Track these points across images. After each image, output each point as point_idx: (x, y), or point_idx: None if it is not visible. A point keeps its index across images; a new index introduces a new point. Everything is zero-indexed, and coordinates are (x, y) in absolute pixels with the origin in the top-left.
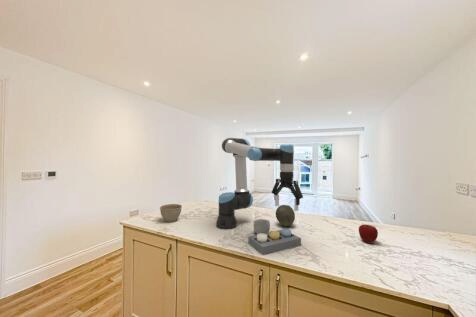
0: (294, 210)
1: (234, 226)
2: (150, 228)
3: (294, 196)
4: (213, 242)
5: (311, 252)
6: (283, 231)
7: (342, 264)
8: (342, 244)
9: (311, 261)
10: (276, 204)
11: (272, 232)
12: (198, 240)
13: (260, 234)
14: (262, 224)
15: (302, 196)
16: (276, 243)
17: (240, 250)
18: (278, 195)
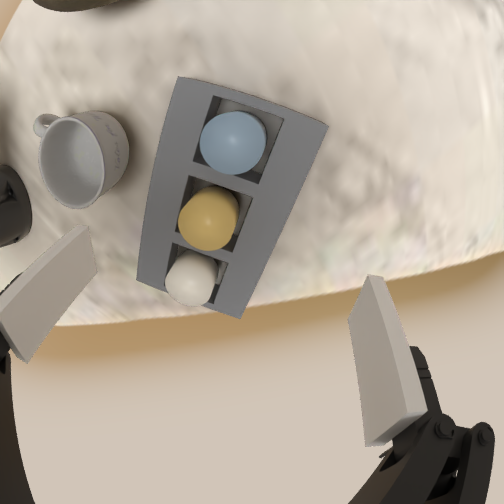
0: (351, 324)
1: (24, 198)
2: None
3: (367, 480)
4: (98, 316)
5: (387, 165)
6: (229, 171)
7: (480, 192)
8: (453, 13)
9: (401, 236)
10: (85, 276)
11: (195, 229)
12: (76, 324)
13: (177, 285)
14: (67, 125)
15: (486, 449)
16: (261, 266)
17: (176, 313)
18: (7, 320)
